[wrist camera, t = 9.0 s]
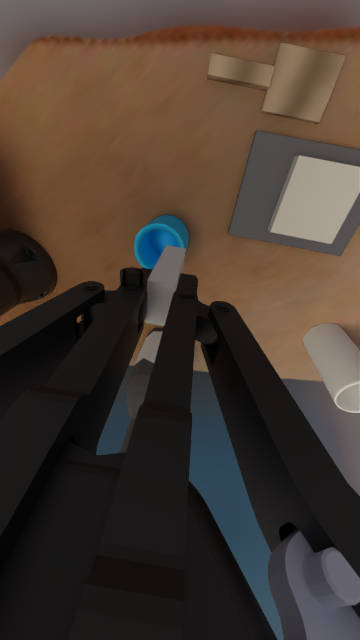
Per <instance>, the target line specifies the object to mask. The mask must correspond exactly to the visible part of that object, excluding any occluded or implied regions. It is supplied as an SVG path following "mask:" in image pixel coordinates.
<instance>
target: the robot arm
mask: <svg viewBox="0 0 360 640" xmlns="http://www.w3.org/2000/svg"><path fill="white" fill-rule="evenodd" d="M185 250H186V248H180V247H174V246H167V245H166V247H165V249H164V251H163V252H162V254H161V256H160V258H159V260H158V262H157V263H156V265H155V267H154V269H148V268H141V269H139V268H132V267H130V268H124V269H122V270H120V281H121V285H120V286H119V288H118V289H117V290H114V291H105V290H104V285H103V284H101V283H99V282H95V281H92V282H91V281H88V282H84V283H81V284H79V285H77V286H75V287H73V288H71V289H69V290H67V291H65V292H64V293H62V294H60V295H58V296H56V297H54V298H52V299H50V300H48V301H47V302H45V303H43V304H41V305H39V306H37V307H35V308H33V309H32V310H30V311H28V312H26V313H24V314H22V315H20V316H18V317H16V318H15V319H13V320H11V321H9V322H7V323H5V324H3V325H1V326H0V640H277V638H276V636H275V634H274V632H273V630H272V628H271V626H270V625H269V623H268V621H267V619H266V617H265V615H264V613H263V611H262V609H261V607H260V605H259V603H258V602H257V600H256V598H255V596H254V594H253V592H252V590H251V588H250V586H249V584H248V583H247V581H246V579H245V577H244V575H243V573H242V571H241V569H240V567H239V565H238V563H237V561H236V559H235V558H234V556H233V554H232V552H231V550H230V548H229V546H228V544H227V542H226V540H225V539H224V536H223V535H222V533H221V531H220V529H219V527H218V525H217V523H216V521H215V519H214V517H213V515H212V514H211V512H210V510H209V508H208V506H207V504H206V502H205V501H204V499H203V497H202V496H201V495H200V493H199V492H198V490H197V489H196V488H195V487H194V486H193V484H192V483H191V482H190V481H189V465H190V446H191V430H192V413H190V404H191V390H192V375H193V361H194V346H195V340H197V341H199V342H201V348H202V352H203V355H204V358H205V361H206V364H207V367H208V370H209V374H210V376H211V380H212V383H213V386H214V389H215V393H216V396H217V399H218V402H219V405H220V408H221V411H222V414H223V417H224V421H225V424H226V426H227V430H228V433H229V437H230V439H231V443H232V446H233V449H234V452H235V455H236V459H237V461H238V465H239V468H240V471H241V474H242V477H243V481H244V484H245V487H246V490H247V493H248V496H249V499H250V502H251V505H252V508H253V510H254V513H255V516H256V519H257V521H258V524H259V526H260V529H261V531H262V533H263V535H264V537H265V539H266V542H267V544H268V546H269V548H270V550H271V552H272V554H271V556H270V559H269V563H268V579H269V585H270V590H271V593H272V595H273V599H274V601H275V604H276V607H277V610H278V613H279V616H280V619H281V624H282V630H283V635H284V640H360V496H359V495H358V494H357V493H356V492H355V491H354V490H353V488H351V486H350V485H349V484H348V483H347V482H346V480H345V478H344V477H343V475H342V474H341V472H340V471H339V469H338V467H337V466H336V465H335V463H334V461H333V460H332V458H331V457H330V455H329V454H328V452H327V450H326V449H325V447H324V446H323V444H322V443H321V441H320V440H319V438H318V436H317V435H316V433H315V432H314V430H313V429H312V427H311V425H310V424H309V422H308V421H307V419H306V418H305V416H304V414H303V413H302V411H301V410H300V409H299V407H298V405H297V404H296V402H295V401H294V399H293V397H292V396H291V394H290V393H289V391H288V390H287V388H286V386H285V385H284V383H283V382H282V380H281V379H280V377H279V376H278V374H277V372H276V371H275V369H274V368H273V366H272V365H271V363H270V361H269V360H268V358H267V357H266V355H265V354H264V352H263V351H262V349H261V347H260V346H259V344H258V343H257V341H256V340H255V338H254V337H253V335H252V333H251V332H250V330H249V329H248V327H247V326H246V324H245V323H244V321H243V319H242V318H241V316H240V315H239V313H238V312H237V310H236V308H235V307H234V306H233V305H231V304H229V303H227V302H224V301H215V302H212V303H211V304H210V306H208V305H205V304H203V303H201V302H200V301H199V300H198V296H197V286H198V279H197V277H196V276H195V275H189V274H182V271H183V264H184V257H185ZM56 281H57V275H56V270H55V267H54V264H53V262H52V260H51V258H50V257H49V255H48V254H47V252H46V251H45V250H44V249H43V248H42V247H41V246H40V245H39V244H38V243H37V242H36V241H34V240H33V239H32V238H30V237H28V236H27V235H25V234H22V233H20V232H17V231H12V230H3V231H0V316H2V315H3V314H4V313H6V312H7V311H9V310H10V309H12V308H13V307H15V306H16V305H18V304H22V303H26V302H31V301H35V300H39V299H41V298H43V297H45V296H46V295H48V294H49V293H50V292H52V290H53V289H54V288H55V285H56ZM79 315H81V320H82V321H80V322H79V323H77V319H76V318H77V317H78V316H79ZM145 317H146V320H145V323H147V324H154V325H160V326H164V329H163V333H162V336H161V340H160V344H159V347H158V351H157V355H156V358H155V362H154V365H153V369H152V373H151V376H150V380H149V384H148V387H147V391H146V394H145V398H144V401H143V404H142V405H140V407H139V410H138V413H137V416H136V419H135V423H134V426H133V430H132V433H131V437H130V440H129V444H128V447H127V450H126V452H125V453H116V454H108V455H96V451H97V445H98V441H99V439H100V436H101V434H102V431H103V429H104V426H105V423H106V421H107V418H108V416H109V413H110V411H111V408H112V406H113V403H114V401H115V398H116V396H117V393H118V391H119V388H120V386H121V383H122V381H123V378H124V376H125V373H126V371H127V368H128V366H129V363H130V361H131V358H132V356H133V353H134V351H135V348H136V345H137V343H138V340H139V338H140V335H141V333H142V330H143V326H144V319H145Z"/></svg>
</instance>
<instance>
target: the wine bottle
mask: <svg viewBox="0 0 360 640" xmlns="http://www.w3.org/2000/svg"><path fill="white" fill-rule="evenodd" d="M163 329H164V328H154V329H153V330H152V331H151V332H150V333H149V334H148V335H147V336H146V339H145V341H144V344H143V346H142V348H141V351H140V353H139V356H138V358H137V361H136V363H135V366H134V368H133V371H132V373H131V375H130V378H129V380H128V385H127V404H128V409H129V416H130V422H129V426H128V428H127V431H126V435H125V437H124V441H123V443H122V446H121V450H120V452H119V453H125V452H126V450H127V447H128V444H129V440H130V437H131V433H132V430H133V426H134V423H135V419H136V416H137V413H138V410H139V407H140V405H142V404H143V401H144V398H145V394H146V391H147V387H148V384H149V380H150V376H151V373H152V369H153V365H154V362H155V358H156V355H157V351H158V347H159V344H160V340H161V336H162V333H163Z"/></svg>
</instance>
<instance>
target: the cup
mask: <svg viewBox="0 0 360 640" xmlns="http://www.w3.org/2000/svg"><path fill="white" fill-rule="evenodd" d="M303 344H304V346H305V348H306V350H307V352H308V354H309V355H310V357H311V359H312V361H313V363H314V365H315V367H316V369H317V370H318V372H319V374H320V376H321V378H322V380H323V382H324V383H325V385H326V387H327V389H328V390H329V393H330V395H331V397H332V398H333V400H334V402H335V403H336V405H337V406H338V407H339V408H340V409H341V410H344V411H347V412H353V413H360V350H359V349H358V347H357V346H356V345H355V344H354V343H353V341H352V340H351V339H350V338H349V337H348V336H347V334H346V333H345V332H344V331H343V330H342V328H341V327H339V326H338V325H336V324H332V323H324V324H319V325H316V326H314V327H312V328H311V329H309V330H308V331H307V332H306V334H305V335H304V337H303Z"/></svg>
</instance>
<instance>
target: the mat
mask: <svg viewBox="0 0 360 640" xmlns="http://www.w3.org/2000/svg"><path fill="white" fill-rule="evenodd" d="M298 155H300V156H305V157H311V158H316V159H321V160H326V161H332V162H337V163H342V164H347V165H352V166H358V167H360V150H356V149H351V148H346V147H341V146H335V145H330V144H325V143H320V142H314V141H309V140H304V139H299V138H293V137H288V136H283V135H278V134H272V133H267V132H262V131H256V132H255V135H254V139H253V142H252V146H251V150H250V153H249V157H248V161H247V164H246V168H245V172H244V176H243V179H242V183H241V187H240V190H239V194H238V198H237V201H236V205H235V209H234V212H233V216H232V220H231V223H230V227H229V231H228V234H231V235H236V236H241V237H246V238H251V239H256V240H261V241H266V242H271V243H276V244H281V245H286V246H292V247H297V248H302V249H307V250H312V251H317V252H322V253H327V254H332V255H337V256H341V255H342V253H343V251H344V249H345V248H346V246H347V244H348V243H349V241H350V239H351V238H352V236H353V234H354V233H355V231H356V229H357V228H358V226H359V224H360V193H359V195H358V197H357V198H356V200H355V202H354V204H353V206H352V208H351V209H350V211H349V213H348V215H347V217H346V218H345V220H344V222H343V224H342V226H341V228H340V229H339V231H338V233H337V235H336V237H335V238H334V240H333V242H332V244H328V243H323V242H318V241H313V240H308V239H303V238H298V237H293V236H288V235H283V234H278V233H272V232H270V231H269V230H268V227H269V224H270V221H271V218H272V216H273V213H274V210H275V208H276V205H277V202H278V199H279V197H280V194H281V191H282V189H283V186H284V183H285V180H286V178H287V175H288V172H289V170H290V167H291V164H292V161H293V159H294V156H298Z"/></svg>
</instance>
